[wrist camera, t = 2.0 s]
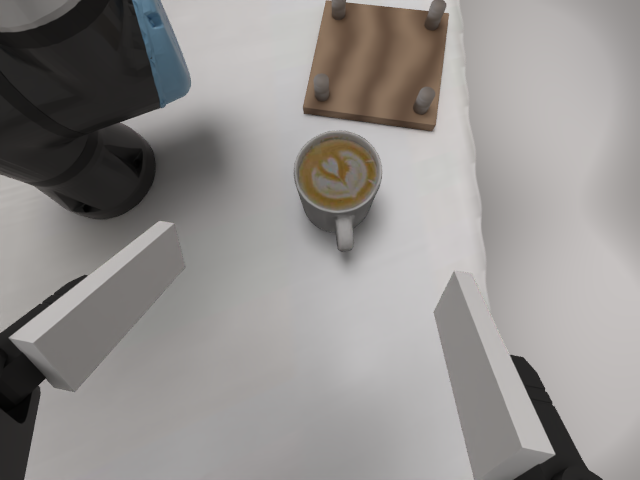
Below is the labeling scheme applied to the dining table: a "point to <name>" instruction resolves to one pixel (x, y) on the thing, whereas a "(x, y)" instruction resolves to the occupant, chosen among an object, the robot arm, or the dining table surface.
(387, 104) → the standoff board
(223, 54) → the dining table surface
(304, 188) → the coffee mug
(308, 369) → the dining table surface
